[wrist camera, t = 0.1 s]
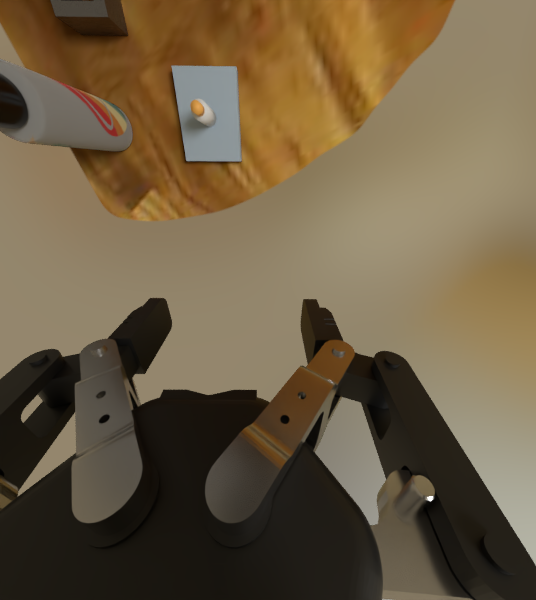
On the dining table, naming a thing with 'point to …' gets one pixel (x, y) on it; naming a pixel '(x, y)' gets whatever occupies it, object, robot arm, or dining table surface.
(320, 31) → the dining table surface
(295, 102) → the dining table surface
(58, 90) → the lotion bottle
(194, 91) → the grey base with peg
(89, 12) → the link
